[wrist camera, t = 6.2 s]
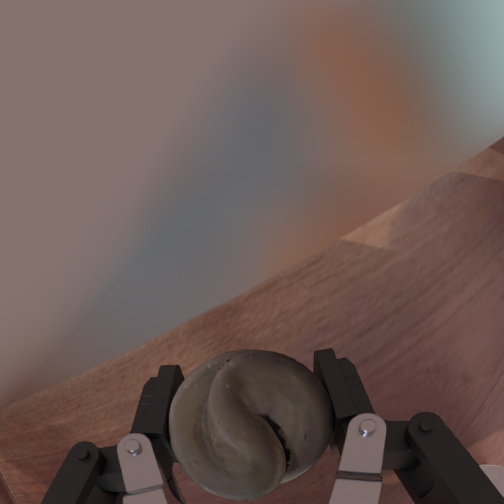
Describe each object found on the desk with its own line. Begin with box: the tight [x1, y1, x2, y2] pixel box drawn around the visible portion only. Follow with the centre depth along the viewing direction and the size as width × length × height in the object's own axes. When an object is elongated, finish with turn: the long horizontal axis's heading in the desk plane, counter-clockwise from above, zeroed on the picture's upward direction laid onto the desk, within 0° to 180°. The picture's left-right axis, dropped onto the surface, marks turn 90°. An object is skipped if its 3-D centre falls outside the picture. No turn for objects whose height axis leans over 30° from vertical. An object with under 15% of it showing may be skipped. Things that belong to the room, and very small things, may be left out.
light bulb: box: [169, 350, 333, 500], centre depth 14 cm, size 6×6×15 cm
